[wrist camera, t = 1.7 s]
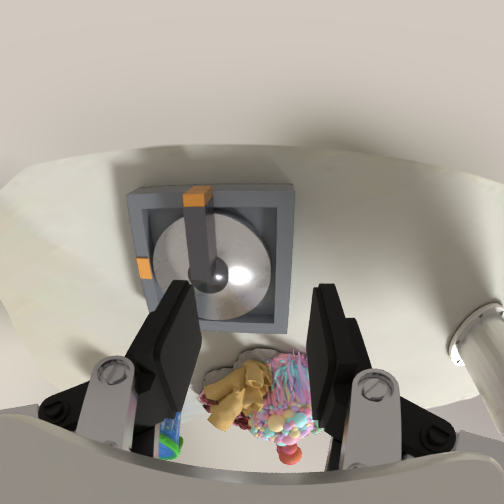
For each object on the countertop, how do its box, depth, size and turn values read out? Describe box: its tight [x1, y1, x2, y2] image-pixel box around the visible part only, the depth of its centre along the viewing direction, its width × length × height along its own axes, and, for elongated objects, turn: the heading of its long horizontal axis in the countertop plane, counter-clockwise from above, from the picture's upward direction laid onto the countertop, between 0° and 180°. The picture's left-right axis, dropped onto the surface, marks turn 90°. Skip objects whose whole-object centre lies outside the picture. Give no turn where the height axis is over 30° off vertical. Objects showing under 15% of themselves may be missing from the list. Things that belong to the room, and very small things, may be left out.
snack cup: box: [158, 412, 183, 460], centre depth 41 cm, size 16×10×10 cm
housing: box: [126, 184, 295, 334], centre depth 30 cm, size 16×16×3 cm
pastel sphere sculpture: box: [198, 348, 324, 465], centre depth 38 cm, size 25×24×9 cm
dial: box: [153, 186, 271, 320], centre depth 27 cm, size 15×12×5 cm
